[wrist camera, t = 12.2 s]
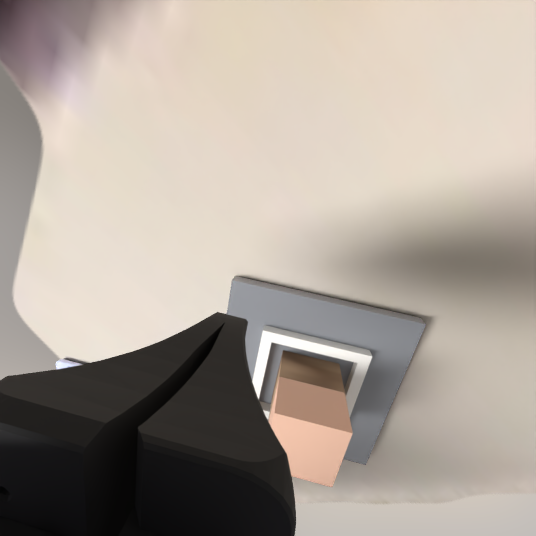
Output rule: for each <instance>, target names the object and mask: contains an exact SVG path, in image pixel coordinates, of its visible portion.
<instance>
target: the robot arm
mask: <svg viewBox="0 0 536 536" xmlns="http://www.w3.org/2000/svg"><path fill="white" fill-rule="evenodd" d="M247 326H248V321H247V320H246V319H244V318H240V317H236V316H231V315H227V314H223V313H219V312H217V313H215V314H213V315H211V316H210V317H208V318H206V319H204V320H203V321H201V322H199V323H197V324H195V325H193V326H192V327H190V328H188V329H186V330H184V331H182V332H180V333H178V334H176V335H173V336H171V337H169V338H167V339H165V340H163V341H160V342H158V343H155V344H153V345H150V346H147V347H145V348H142V349H139V350H136V351H133V352H130V353H126V354H123V355H119V356H116V357H112V358H109V359H105V360H101V361H97V362H92V363H88V364H80V363H76V362H72V361H68V360H64V359H60V360H59V361H57V362H56V370H50V371H43V372H36V373H28V374H22V375H13V376H7V377H5V378H3V379H2V380H0V536H294V535H295V528H296V510H295V498H294V489H293V483H292V477H291V471H290V466H289V461H288V456H287V453H286V452H285V450H284V448H283V447H282V445H281V444H280V442H279V440H278V438H277V437H276V435H275V433H274V431H273V430H272V428H271V426H270V424H269V422H268V420H267V418H266V416H265V413H264V411H263V409H262V406H261V404H260V401H259V399H258V397H257V394H256V391H255V388H254V385H253V382H252V379H251V375H250V371H249V366H248V361H247V355H246V345H245V336H246V331H247Z"/></svg>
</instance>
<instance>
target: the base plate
mask: <svg viewBox="0 0 536 536" xmlns="http://www.w3.org/2000/svg"><path fill="white" fill-rule="evenodd" d="M227 315H231V316H236V317H240V318H244V319H246V320H247V321H248V326H247V331H246V336H245V345H246V355H247V361H248V366H249V371H250V375H251V379H252V382H253V385H254V388H255V391H256V394H257V397H258V399H259V401H260V404H261V406H262V409H263V411H264V413H265V416H266V418H267V420H269V413H270V407H271V401H272V395H273V390H274V386H275V382H276V378H277V373H278V369H279V365H280V361H281V356H282V352H283V350H284V351H288V352H292V353H297V354H301V355H305V356H309V357H313V358H317V359H322V360H326V361H330V362H334V363H338V364H339V365H340V370H341V375H342V381H343V386H344V391H345V396H346V401H347V407H348V412H349V417H350V422H351V427H352V432H353V434H352V436H351V439H350V442H349V444H348V447H347V450H346V452H345V455H344V458H343V459H346V460H349V461H353V462H357V463H360V464H364V465H366V463H367V461H368V458H369V456H370V454H371V451H372V449H373V447H374V444H375V442H376V440H377V437H378V435H379V433H380V431H381V428H382V426H383V424H384V421H385V419H386V417H387V414H388V412H389V410H390V407H391V405H392V403H393V400H394V398H395V396H396V393H397V391H398V389H399V386H400V384H401V382H402V379H403V377H404V375H405V372H406V370H407V368H408V365H409V363H410V361H411V358H412V356H413V354H414V351H415V349H416V347H417V344H418V342H419V340H420V337H421V335H422V333H423V330H424V328H425V326H426V324H425V323H424V321H423V320H422V319H421V318H420V317H415V316H411V315H406V314H402V313H398V312H393V311H389V310H384V309H380V308H375V307H371V306H367V305H362V304H358V303H353V302H349V301H345V300H340V299H336V298H331V297H327V296H322V295H318V294H314V293H309V292H305V291H300V290H296V289H291V288H287V287H283V286H278V285H274V284H269V283H265V282H261V281H256V280H252V279H247V278H243V277H238V276H235V277H234V278H233V280H232V284H231V290H230V297H229V303H228V310H227Z"/></svg>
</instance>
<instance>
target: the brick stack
mask: <svg viewBox="0 0 536 536" xmlns="http://www.w3.org/2000/svg"><path fill="white" fill-rule="evenodd" d="M268 422H269V424H270V426H271V428H272V430H273V431H274V433H275V435H276V437H277V438H278V440H279V442H280V444H281V445H282V447H283V448H284V450H285V452H286V453H287V456H288V461H289V466H290V471H291V476H293V477H296V478H300V479H304V480H307V481H311V482H315V483H318V484H322V485H325V486H329V487H332V486H333V484H334V481H335V479H336V476H337V473H338V471H339V468H340V465H341V463H342V460H343V458H344V455H345V452H346V450H347V447H348V444H349V442H350V439H351V436H352V434H353V432H352V427H351V422H350V417H349V412H348V407H347V401H346V396H345V391H344V386H343V381H342V375H341V370H340V365H339V364H338V363H334V362H330V361H326V360H322V359H317V358H313V357H309V356H305V355H301V354H297V353H292V352H288V351H284V350H283V352H282V356H281V361H280V365H279V369H278V373H277V378H276V382H275V386H274V390H273V395H272V401H271V407H270V413H269V420H268Z"/></svg>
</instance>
